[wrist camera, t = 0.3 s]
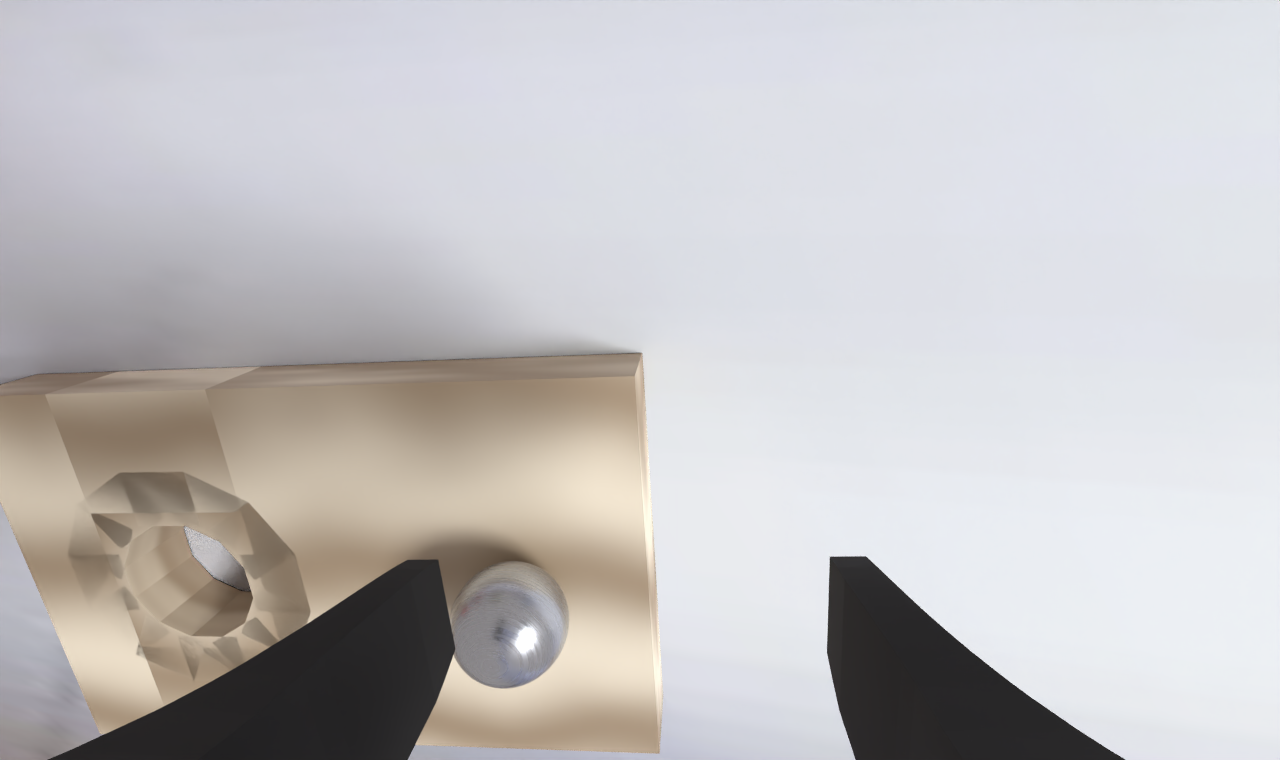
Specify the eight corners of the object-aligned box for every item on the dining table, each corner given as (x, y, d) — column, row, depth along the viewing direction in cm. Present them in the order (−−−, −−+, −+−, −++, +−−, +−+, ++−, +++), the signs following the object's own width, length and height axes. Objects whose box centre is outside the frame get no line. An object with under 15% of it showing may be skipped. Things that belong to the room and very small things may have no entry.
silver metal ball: (583, 630, 20) (560, 719, 16) (481, 628, 20) (438, 716, 17) (573, 538, 19) (547, 614, 15) (466, 538, 19) (417, 612, 16)
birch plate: (663, 696, 23) (659, 753, 21) (155, 683, 26) (100, 733, 23) (642, 353, 19) (634, 376, 17) (37, 374, 21) (-45, 397, 19)
